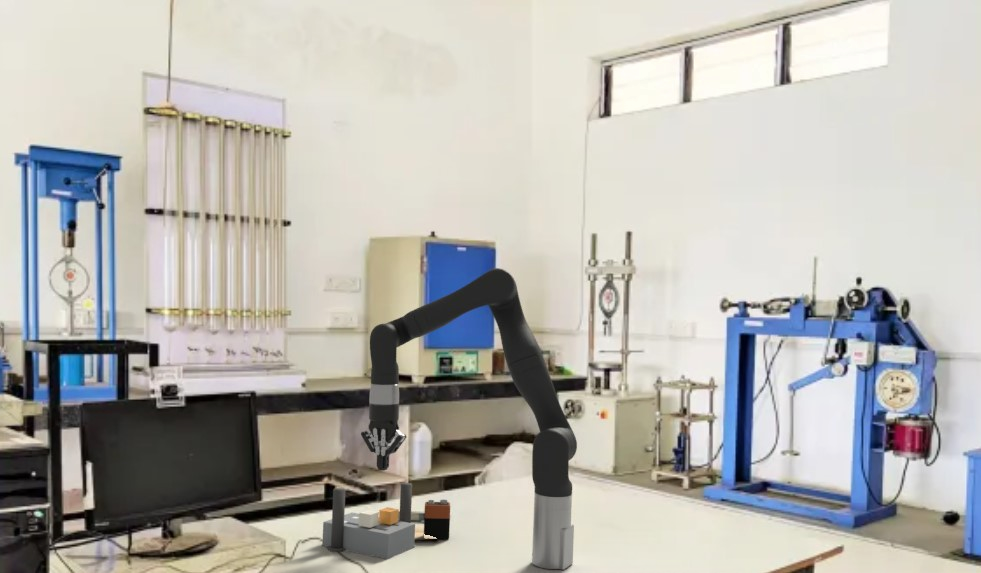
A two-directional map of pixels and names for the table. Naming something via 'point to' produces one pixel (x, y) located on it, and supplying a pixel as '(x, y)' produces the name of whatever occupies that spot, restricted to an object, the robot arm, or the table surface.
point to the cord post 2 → (405, 502)
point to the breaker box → (373, 537)
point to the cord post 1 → (337, 520)
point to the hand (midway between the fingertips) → (382, 469)
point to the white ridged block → (368, 518)
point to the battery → (437, 519)
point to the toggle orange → (388, 516)
